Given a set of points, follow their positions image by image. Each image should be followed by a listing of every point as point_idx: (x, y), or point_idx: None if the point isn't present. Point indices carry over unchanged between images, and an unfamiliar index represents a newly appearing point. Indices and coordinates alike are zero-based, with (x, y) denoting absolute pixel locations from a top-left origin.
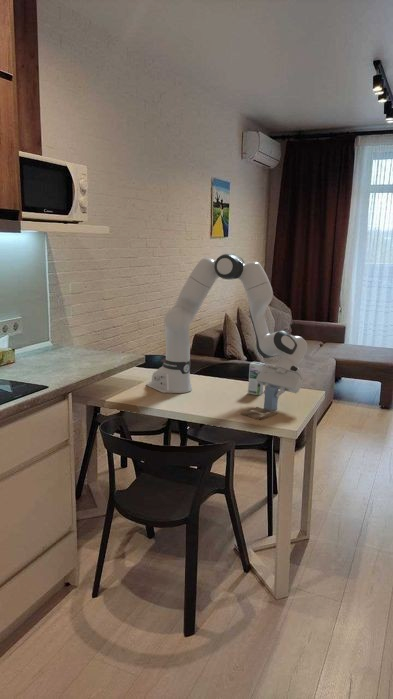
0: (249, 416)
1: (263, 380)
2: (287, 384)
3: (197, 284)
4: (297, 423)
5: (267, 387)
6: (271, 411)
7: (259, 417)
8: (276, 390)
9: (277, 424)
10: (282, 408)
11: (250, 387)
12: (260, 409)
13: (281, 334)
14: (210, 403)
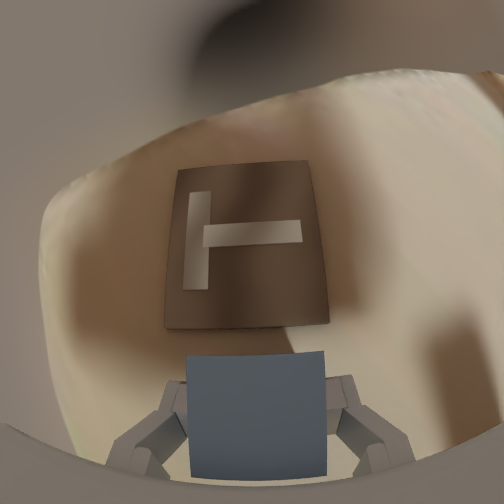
0: (244, 166)
1: (466, 452)
2: (42, 479)
3: None
4: (45, 280)
5: (322, 399)
6: (201, 319)
7: (192, 181)
8: (194, 431)
9: (100, 200)
10: None
11: None
12: (277, 294)
13: None
14: (480, 187)
